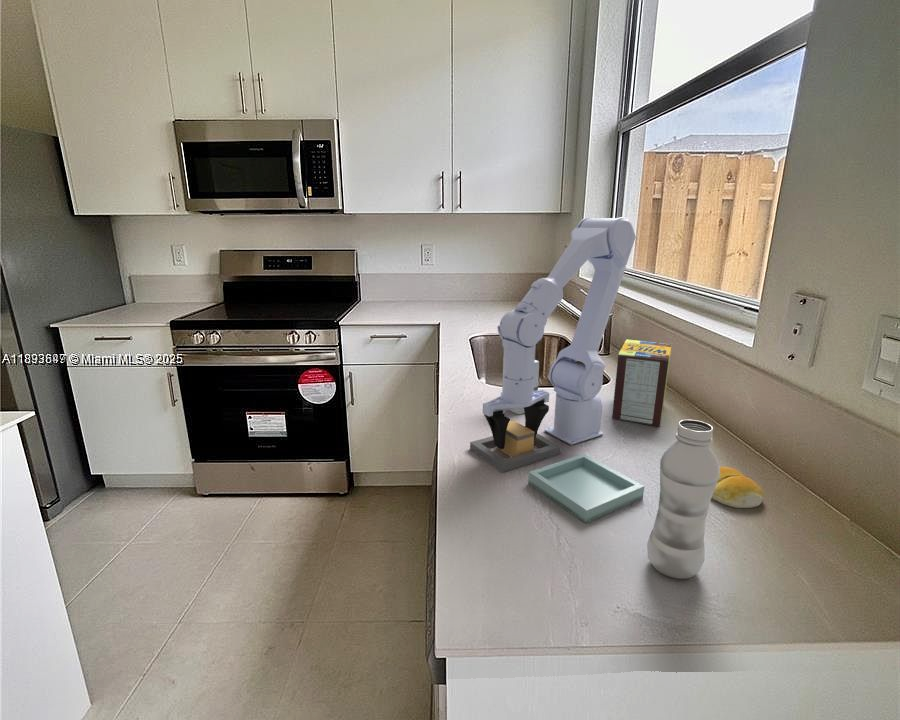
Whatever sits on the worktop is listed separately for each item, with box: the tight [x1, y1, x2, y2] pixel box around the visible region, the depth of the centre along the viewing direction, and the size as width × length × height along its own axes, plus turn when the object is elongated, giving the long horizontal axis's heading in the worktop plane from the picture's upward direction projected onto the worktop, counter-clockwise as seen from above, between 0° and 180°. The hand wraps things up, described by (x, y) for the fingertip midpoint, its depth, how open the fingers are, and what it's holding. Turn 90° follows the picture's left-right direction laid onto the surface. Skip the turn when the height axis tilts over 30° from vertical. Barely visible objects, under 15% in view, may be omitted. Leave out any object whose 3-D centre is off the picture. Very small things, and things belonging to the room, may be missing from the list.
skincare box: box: [509, 359, 540, 415], centre depth 111 cm, size 6×4×12 cm
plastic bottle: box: [646, 419, 721, 580], centre depth 58 cm, size 6×7×20 cm
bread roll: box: [711, 466, 765, 509], centre depth 77 cm, size 8×9×4 cm
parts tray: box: [528, 453, 645, 524], centre depth 78 cm, size 13×13×2 cm
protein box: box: [611, 339, 672, 428], centre depth 109 cm, size 10×15×16 cm
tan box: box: [497, 420, 535, 457], centre depth 91 cm, size 4×6×5 cm
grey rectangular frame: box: [469, 432, 562, 473], centre depth 92 cm, size 14×10×2 cm
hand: (515, 442), depth 91 cm, fingers open, 7 cm apart
